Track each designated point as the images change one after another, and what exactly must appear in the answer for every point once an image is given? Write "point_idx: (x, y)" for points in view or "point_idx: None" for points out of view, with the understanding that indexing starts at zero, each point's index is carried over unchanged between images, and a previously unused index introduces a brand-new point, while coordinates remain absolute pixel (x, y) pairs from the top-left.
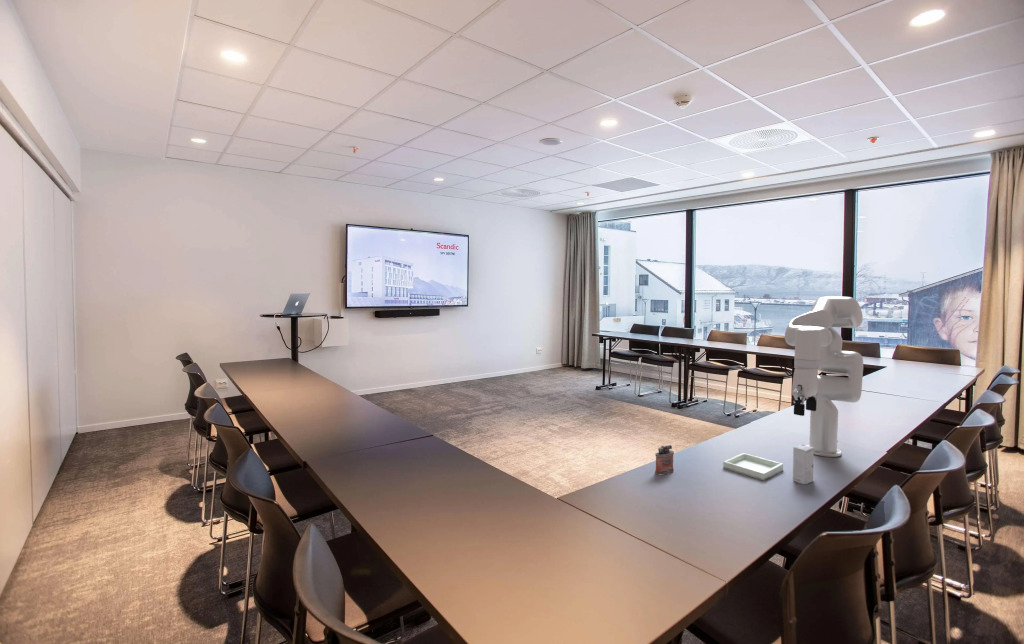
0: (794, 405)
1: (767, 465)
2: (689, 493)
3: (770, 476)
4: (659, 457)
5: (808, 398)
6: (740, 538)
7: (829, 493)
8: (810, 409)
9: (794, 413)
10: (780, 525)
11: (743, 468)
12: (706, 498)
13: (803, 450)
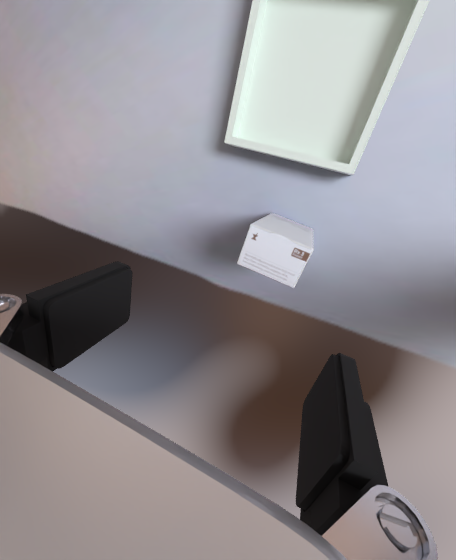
0: (55, 288)
1: (361, 120)
2: (54, 10)
3: (267, 154)
4: None
5: (381, 491)
6: (11, 175)
7: (240, 285)
8: (315, 384)
9: (115, 266)
10: (73, 217)
11: (240, 65)
12: (62, 63)
13: (239, 256)
